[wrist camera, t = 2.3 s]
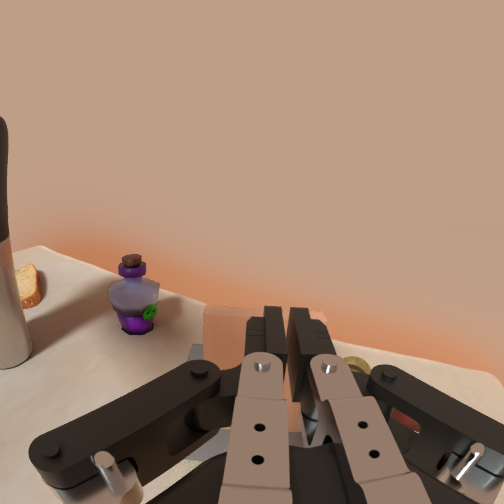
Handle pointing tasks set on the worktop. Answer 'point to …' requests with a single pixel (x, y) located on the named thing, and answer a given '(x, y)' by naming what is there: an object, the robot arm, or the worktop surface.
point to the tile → (242, 345)
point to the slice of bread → (28, 286)
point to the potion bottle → (134, 296)
